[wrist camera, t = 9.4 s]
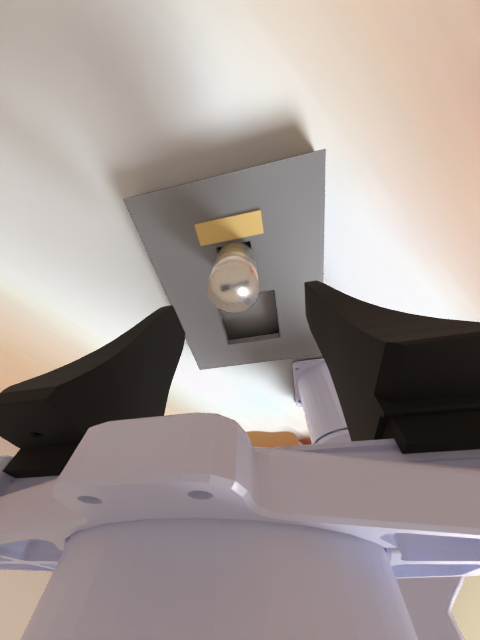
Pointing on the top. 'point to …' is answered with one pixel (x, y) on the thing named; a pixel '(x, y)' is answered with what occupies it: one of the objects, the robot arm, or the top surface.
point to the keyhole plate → (240, 226)
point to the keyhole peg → (234, 278)
